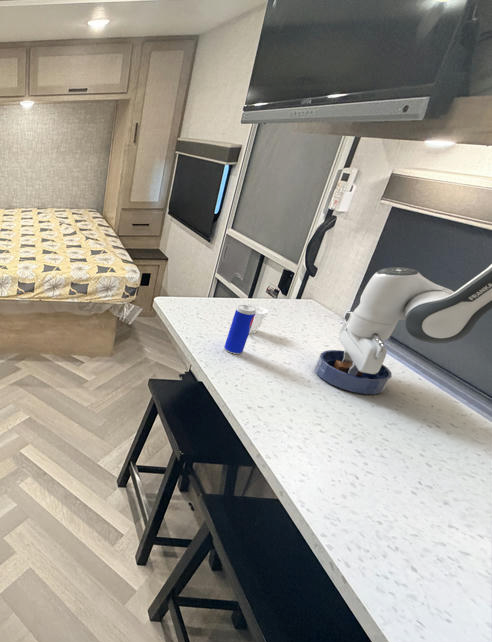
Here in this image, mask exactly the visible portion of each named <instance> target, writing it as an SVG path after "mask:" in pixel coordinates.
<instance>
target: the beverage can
mask: <svg viewBox="0 0 492 642" xmlns="http://www.w3.org/2000/svg"><path fill="white" fill-rule="evenodd" d="M248 305H249V304H248ZM248 305H247V304H239V305H238V306H236V309H235V312H234V314H233V318H232V321H231V324H230V327H229V330H228V333H227V337H226V340H225V342H224V350H225V351H226V352H227V351H228V352H227V353H229V352H230V353H229V354H232V353H233V354H232V355H240V354H242V353H243V352H244V349H245V347H246V343H247V340H248V338H249V334H250V333H249V332H250V329H251V326H252V323H253V320H254V317H255V314H256V309H255V308H254V307H252V306H248Z"/></svg>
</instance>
